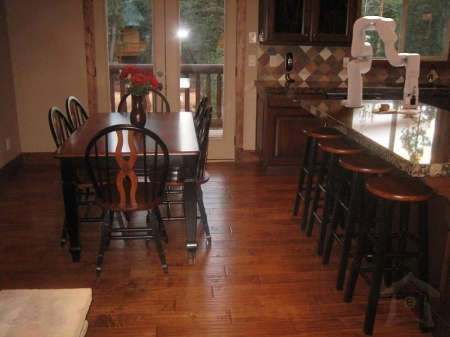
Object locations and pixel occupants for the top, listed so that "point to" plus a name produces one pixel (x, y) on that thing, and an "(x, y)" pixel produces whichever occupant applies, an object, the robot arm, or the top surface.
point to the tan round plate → (384, 109)
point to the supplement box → (408, 106)
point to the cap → (408, 100)
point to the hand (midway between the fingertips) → (410, 103)
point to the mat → (409, 111)
